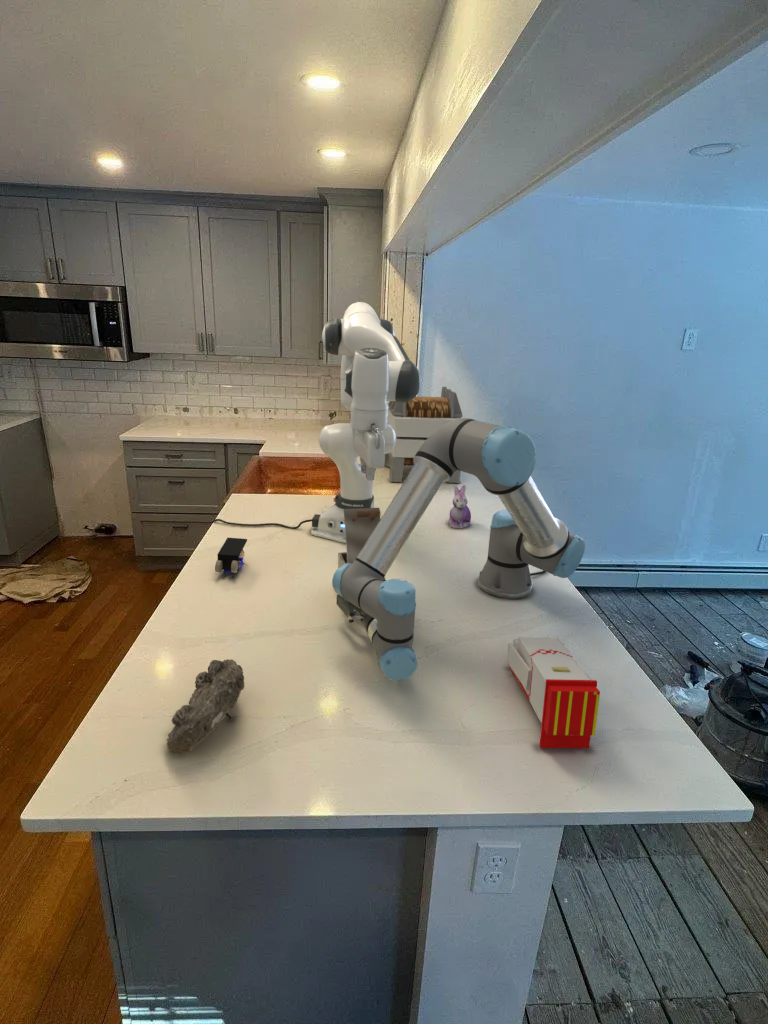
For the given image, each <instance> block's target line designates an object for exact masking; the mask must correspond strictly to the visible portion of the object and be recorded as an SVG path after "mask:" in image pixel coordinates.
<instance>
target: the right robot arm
mask: <svg viewBox="0 0 768 1024" xmlns="http://www.w3.org/2000/svg"><path fill="white" fill-rule="evenodd" d="M536 455H537V450H536V446H535V443H534V441H533V439H532V438H531V436H530V435H528V434H527V432H525V431H522V430H519V429H517V428H515V427H512V426H507V425H506V426H505V425H500V424H499V425H498V424H495V423H489V422H486V421H482V420H476V419H474V418H468V417H461V419H456V420H453V421H450V422H448V423H446V424H445V425H443V426H441V427H440V428H439V429H437V430H436V431H435V432H434V433H433V434H432V435H431V436H430V437H429V438H428V439H427V440H426V441H425V442H424V443H423V445H422V446H421V447H420V449H419V450H418V452H417V453H416V455H415V456H414V458H413V460H414V466H412V468H411V469H410V471H409V473H408V474H407V476H406V478H405V479H404V481H402V484H401V485H400V487H399V488H398V491H397V492H396V493H395V495H394V497H393V499H392V500H391V502H390V504H389V505H388V507H387V508H386V510H385V511H384V513H383V515H382V516H381V517H380V521H379V523H378V524H377V526H376V527H375V529H374V531H373V532H372V534H371V535H370V537H369V539H368V540H367V542H366V543H365V545H364V547H363V548H362V550H361V551H360V553H359V555H358V556H357V558H356V560H355V561H354V563H353V564H350V563H346V564H343V565H342V566H341V567H340V568H338V567H337V569H336V570H335V571H334V572H333V576H332V580H331V584H332V585H331V586H332V588H333V590H334V592H335V593H336V605H337V607H338V608H339V609H340V610H341V611H342V613H343V614H344V615H345V616H346V617H347V618H348V619H347V620H348V623H350V624H353V623H354V622H355V620H360V621H361V622H362V623H363V625H364V627H365V631H366V633H367V635H368V638H369V642H370V643H371V647H372V648H373V651H374V654H375V657H376V660H377V663H378V666H379V668H380V670H381V672H382V673H383V675H384V676H385V677H386V678H387V679H389V680H390V681H394V682H401V681H404V680H407V679H409V678H410V677H412V675H414V674H415V672H416V670H417V667H418V658H417V654H416V652H415V651H414V628H415V627H414V625H415V618H416V617H415V616H416V609H417V601H416V588H415V586H414V585H413V584H412V583H411V582H409V581H408V580H402V579H400V578H391V579H385V581H384V582H383V581H382V580H383V578H384V577H385V578H386V575H387V573H388V572H389V570H390V569H391V567H392V566H393V564H394V562H395V561H396V559H397V557H398V556H399V554H400V552H401V551H402V549H403V547H404V546H405V544H406V543H407V542H408V539H409V538H410V536H411V534H412V533H413V531H414V529H415V528H416V526H417V525H418V523H419V521H420V520H421V519H422V517H423V515H424V514H425V512H426V510H427V508H428V507H429V505H430V504H431V502H432V501H433V499H434V497H435V496H436V494H437V493H438V491H439V489H440V487H441V486H442V484H443V483H445V482H447V481H449V480H450V478H451V477H452V475H453V474H454V472H456V471H458V470H460V471H461V472H463V473H467V474H470V475H473V476H474V477H476V478H477V479H478V481H479V482H480V483H481V485H482V486H483V488H484V489H485V490H486V492H488V493H489V494H491V495H495V496H497V497H498V498H499V500H500V501H501V503H502V505H503V506H504V507H505V509H502V510H498V511H497V512H495V513H494V514H493V515H492V518H491V524H490V527H489V528H490V531H489V539H488V550H487V559H486V561H485V564H484V565H483V568H482V569H481V570H480V571H479V575H478V579H477V580H478V581H477V586H478V587H479V588H480V590H482V591H483V592H484V593H486V594H488V595H491V596H493V597H496V598H500V599H507V600H517V599H523V598H526V597H528V596H529V595H530V594H531V593H532V591H533V580H532V576H539V575H543V574H545V573H547V574H551V575H552V576H554V577H558V578H561V579H567V578H570V576H572V575H573V574H574V573H575V572H576V570H577V569H578V567H579V566H580V564H581V562H582V559H583V557H584V553H585V549H586V542H585V540H584V539H583V537H581V536H579V535H578V534H573V533H571V532H570V531H569V529H568V526H567V525H566V524H565V523H564V522H563V521H562V520H561V519H559V518H557V517H554V515H553V513H552V511H551V509H550V507H549V506H548V504H547V503H546V500H545V498H544V497H543V495H542V493H541V492H540V490H539V488H538V486H537V484H536V482H535V481H534V479H533V477H532V474H533V472H534V470H535V466H536V463H537V458H535V456H536ZM529 566H530V567H531V566H532V567H534V568H537V569H539V570H541V571H537V572H536V571H535V572H531V571H530V567H529ZM356 611H357V612H359V613H360V614H358V613H357V612H356Z"/></svg>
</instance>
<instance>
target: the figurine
mask: <svg viewBox="0 0 768 1024" xmlns="http://www.w3.org/2000/svg"><path fill="white" fill-rule="evenodd" d="M466 489H467V485H465V484H463V485H462V486H461V488H460V489H459V488H458V486H457V485H454V486H453V491H454V492H453V493H454V496H453V498H452V505H453V506H452V508H450V510H449V515H448V516H449V518H448V524H449V526H450V527H451V528H454V529H462V528H467V527H469V526H470V523H471V519H472V513H471V510H470V508H469V507H468V503H469V502H468V498H467V496H466Z"/></svg>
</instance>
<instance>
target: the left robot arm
mask: <svg viewBox="0 0 768 1024" xmlns="http://www.w3.org/2000/svg"><path fill="white" fill-rule="evenodd" d="M321 340H322V344H323V346H324V348H325V349H324V350H325V351H326V352H327V354H328V355H329V354H330V355H333V356H339V355H341V363H340V364H341V365H340V403H341V405H342V407H343V408H344V409H346V410H348V411H349V421H350V422H338V423H332V424H328V425H325V426H324V427H322V429H321V431H320V432H319V435H318V444H319V447H320V449H321V451H322V452H323V454H325V455H326V456H327V457H328V458H330V459H331V460H332V462H333V463H334V464H335V466H336V467H337V470H338V474H339V483H340V484H339V485H340V488H339V489H340V490H339V491H338V492H337V494H336V495H335V496H334V497H333V502H334V504H333V505H331V506H329V507H328V508H326V509H325V510H323V512H321V514H318V513H315V514H314V515H313V517H312V518H311V519H305V520H302V521H301V522H299V523H298V525H296V526H288V525H285V524H282V523H276V522H265V523H239V522H238V523H237V522H230V521H226V520H224V519H220V518H215V519H214V520H212V521H211V523H215V522H221V523H224V524H226V525H231V526H240V527H263V526H279V527H281V528H282V527H283V528H285V529H286V528H287V529H291V530H297V529H299V528H300V527H301V525H303V524H305V523H311V527H312V528H311V530H310V533H311V536H315V537H319V538H323V539H326V540H330V541H336V542H339V543H343V544H346V537H345V523H344V509H359V508H375V496H374V481H375V474H376V470H377V469H383V468H384V467H385V466H384V463H385V454H387V453H390V452H391V451H392V450H393V449H394V447H395V445H396V433H395V431H394V429H393V428H392V427H391V426H390V425H389V424H388V403H389V401H396V402H404V403H408V402H409V401H411V400H412V399H413V398H414V397H417V396H418V395H419V392H420V387H421V376H420V372H419V369H418V367H417V366H416V364H415V363H414V362H413V361H412V360H411V359H410V358H409V355H408V354H407V352H406V351H405V349H404V347H403V345H402V343H401V342H400V339H398V337H397V336H396V332H395V329H394V326H393V323H392V322H391V321H390V320H387V319H383V318H379V316H378V314H377V312H376V311H375V310H374V308H373V307H372V305H370V304H368V302H367V303H366V302H364V301H356V302H353V303H351V304H350V305H348V307H347V308H346V309H345V311H344V315H343V317H342V318H339V317H335V318H333V319H329V320H328V321H326V323H324V326H323V329H322V332H321ZM358 457H359V462H360V464H359V463H358V462H357V458H358Z"/></svg>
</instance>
